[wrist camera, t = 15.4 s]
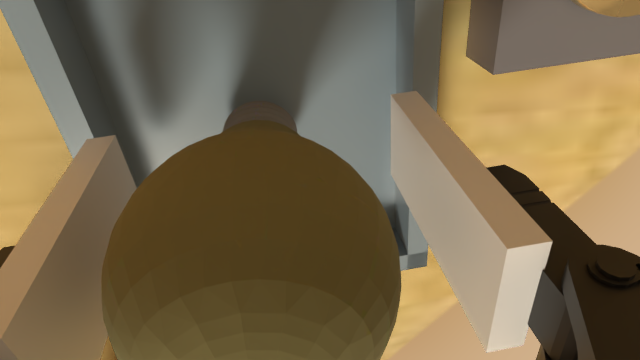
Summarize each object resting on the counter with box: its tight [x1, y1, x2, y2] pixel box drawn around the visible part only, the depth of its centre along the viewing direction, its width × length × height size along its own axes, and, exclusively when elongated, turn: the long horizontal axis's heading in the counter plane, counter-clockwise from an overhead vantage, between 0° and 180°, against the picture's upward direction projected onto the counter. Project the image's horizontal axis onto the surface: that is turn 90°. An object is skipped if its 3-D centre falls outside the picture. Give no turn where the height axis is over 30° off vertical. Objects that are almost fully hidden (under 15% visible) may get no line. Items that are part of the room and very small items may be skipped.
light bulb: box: [101, 101, 401, 360], centre depth 10 cm, size 6×6×10 cm
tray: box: [0, 0, 444, 271], centre depth 14 cm, size 13×11×2 cm
